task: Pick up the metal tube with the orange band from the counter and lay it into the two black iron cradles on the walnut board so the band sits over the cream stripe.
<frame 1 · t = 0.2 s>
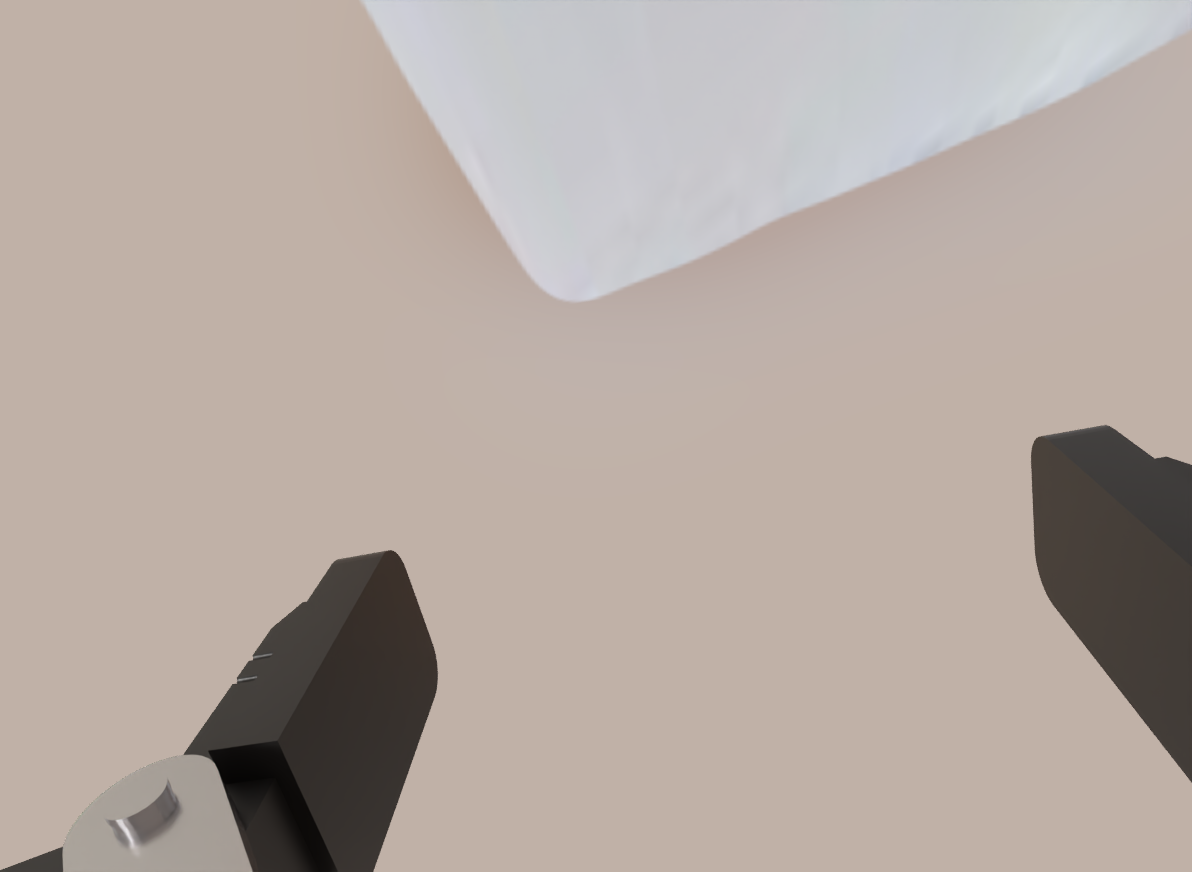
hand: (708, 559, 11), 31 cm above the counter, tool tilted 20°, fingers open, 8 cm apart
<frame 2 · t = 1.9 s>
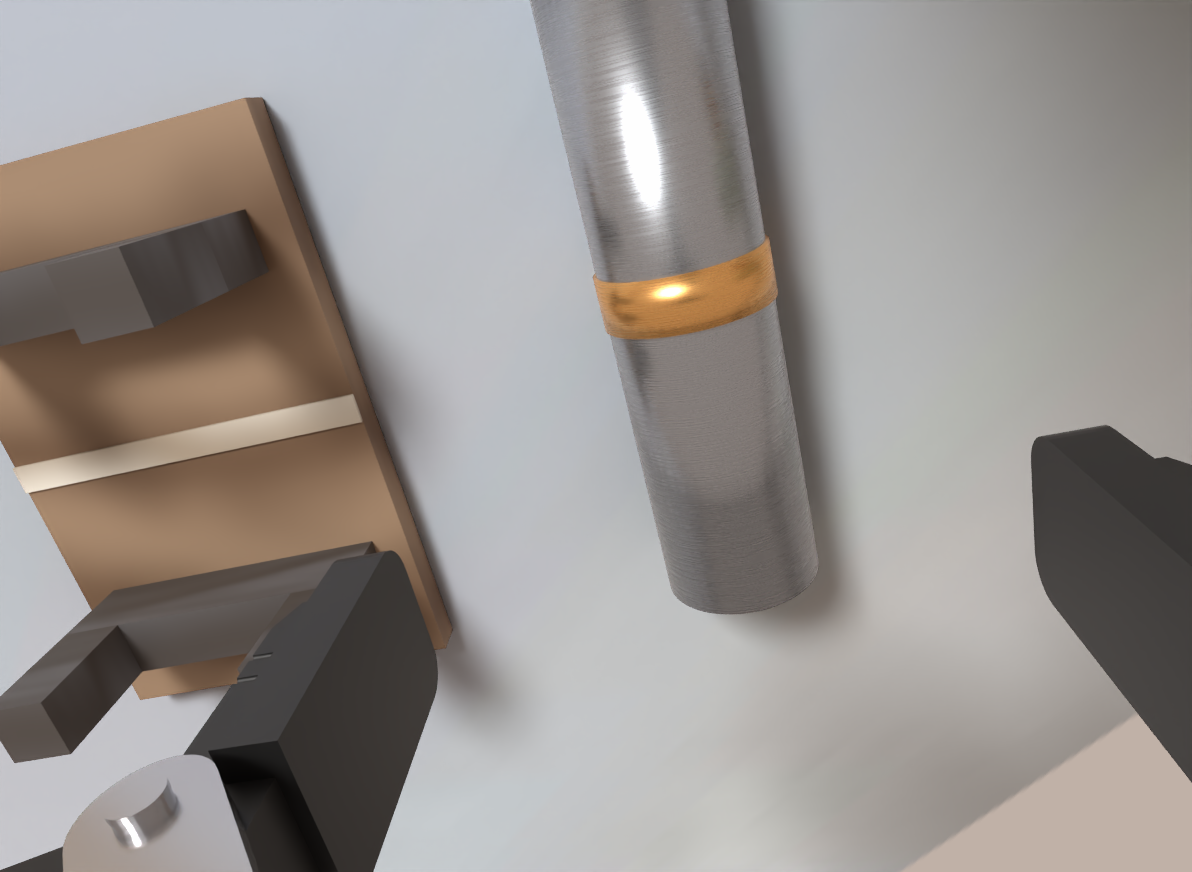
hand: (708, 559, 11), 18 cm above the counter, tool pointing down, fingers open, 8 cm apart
tube: (679, 267, 27), on the counter
cradle stand: (201, 431, 31), on the counter
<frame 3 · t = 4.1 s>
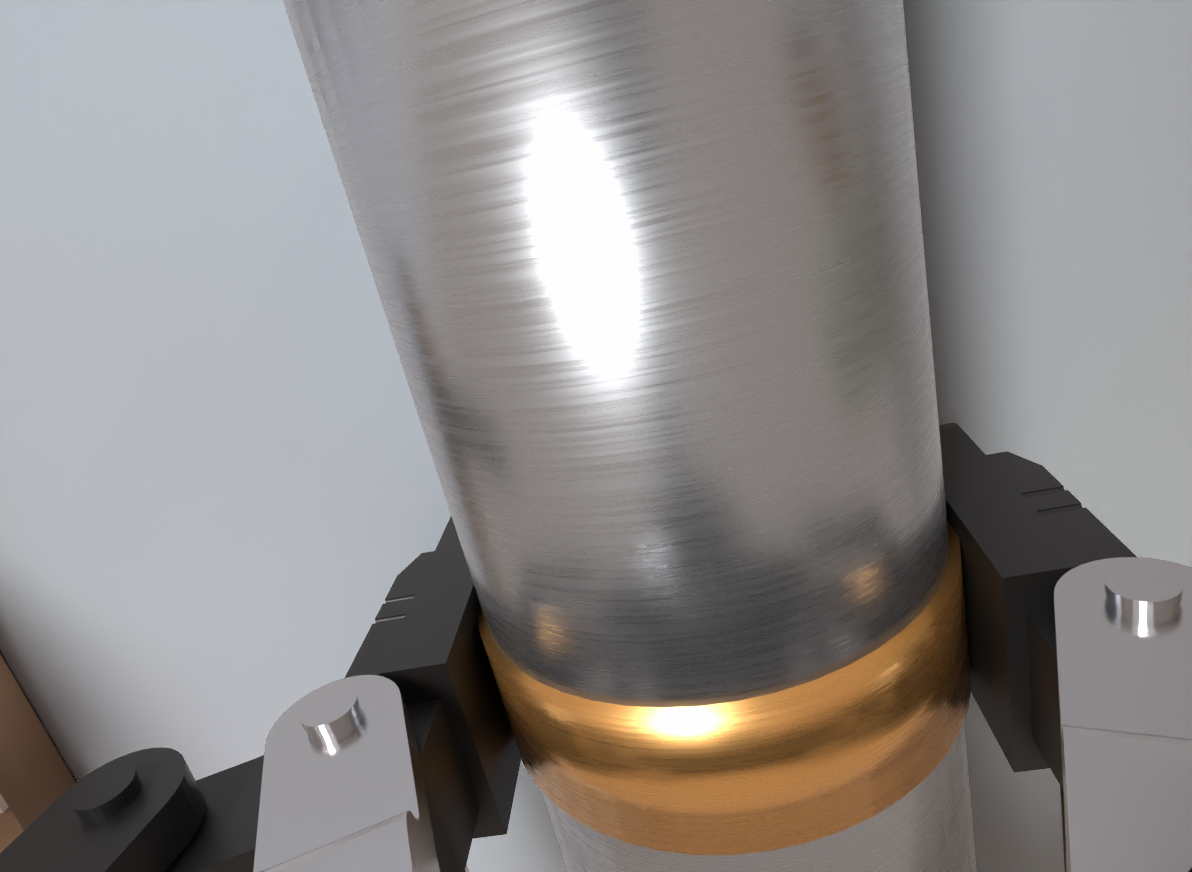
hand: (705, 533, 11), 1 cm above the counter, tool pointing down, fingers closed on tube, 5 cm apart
tube: (695, 511, 12), on the counter, touching gripper
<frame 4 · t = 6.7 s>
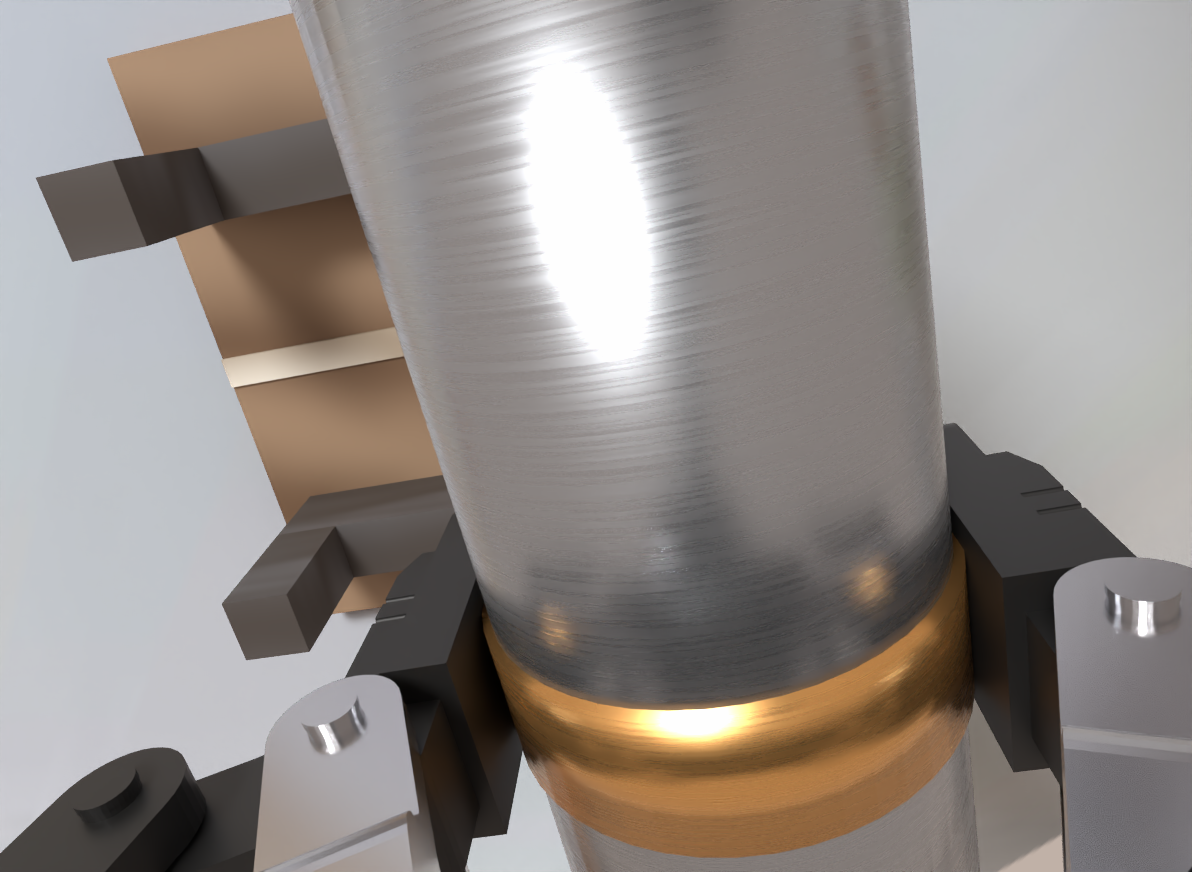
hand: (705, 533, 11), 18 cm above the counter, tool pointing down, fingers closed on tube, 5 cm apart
tube: (698, 513, 12), point 17 cm above the counter, touching gripper
cradle stand: (418, 329, 29), on the counter
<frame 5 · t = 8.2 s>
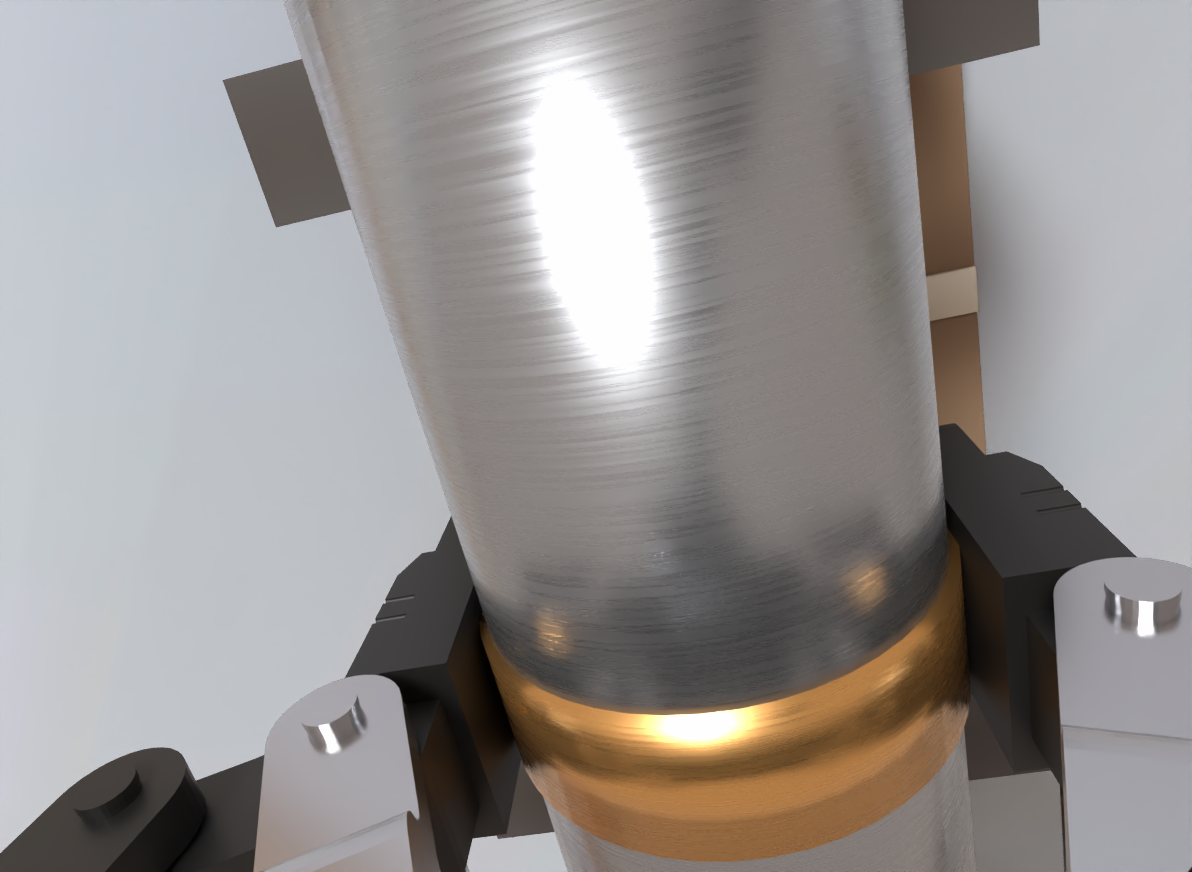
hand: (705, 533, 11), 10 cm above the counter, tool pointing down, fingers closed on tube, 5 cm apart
tube: (696, 516, 12), point 9 cm above the counter, touching gripper
cradle stand: (682, 333, 21), on the counter
when the fingers open (6 cm above the counter, at t = 9.4 s): tube drops 1 cm, resting on cradle stand.
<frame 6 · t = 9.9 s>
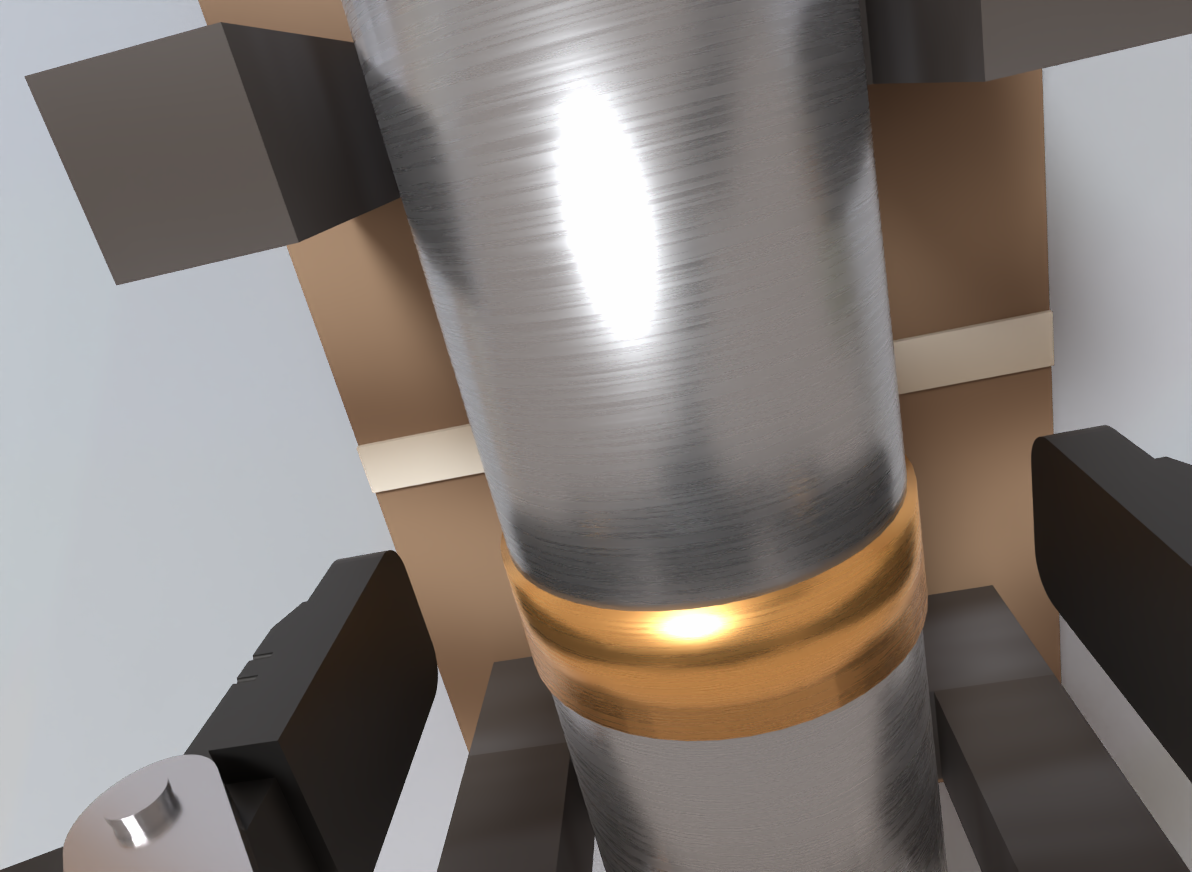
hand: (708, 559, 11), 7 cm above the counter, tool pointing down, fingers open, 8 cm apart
tube: (692, 470, 13), point 4 cm above the counter, touching cradle stand
cradle stand: (686, 385, 17), on the counter
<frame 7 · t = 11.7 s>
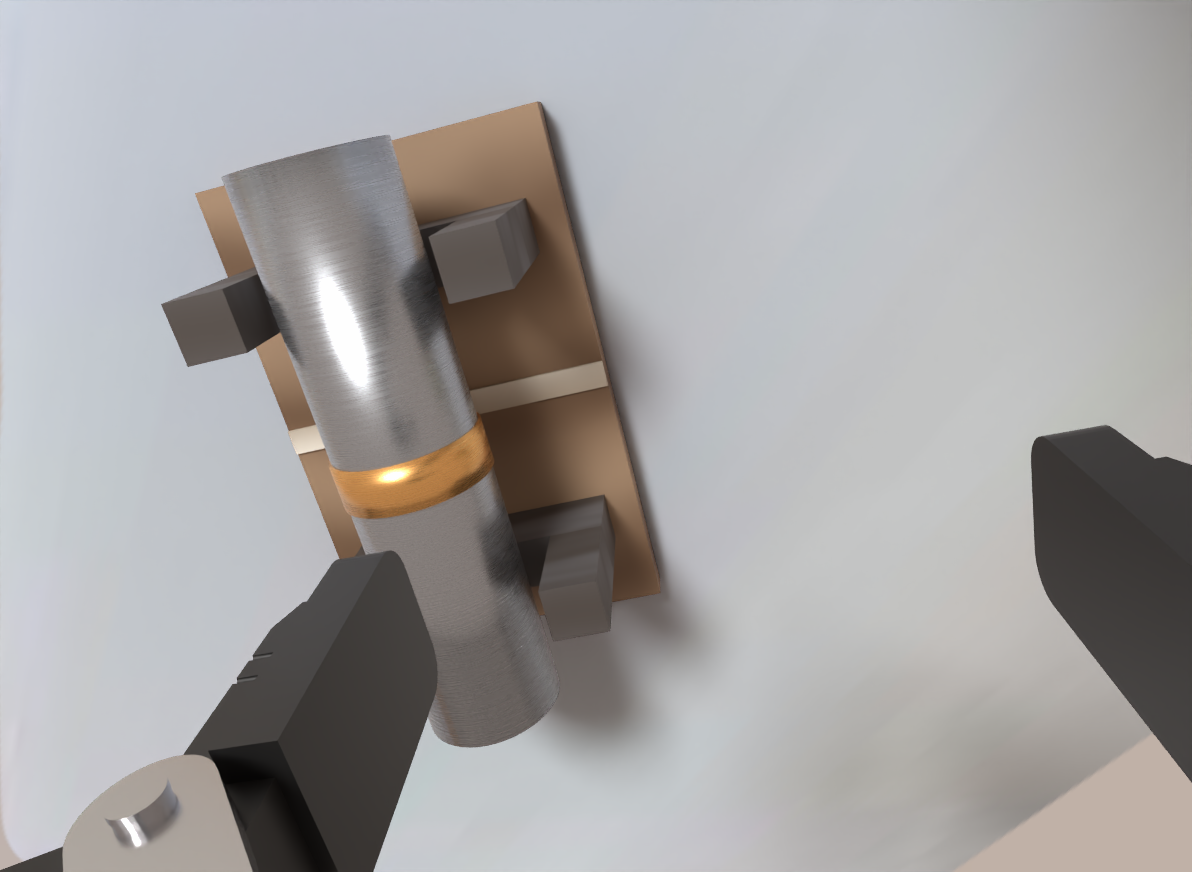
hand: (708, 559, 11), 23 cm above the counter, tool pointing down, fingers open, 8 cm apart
tube: (426, 434, 31), point 4 cm above the counter, touching cradle stand
cradle stand: (451, 398, 34), on the counter
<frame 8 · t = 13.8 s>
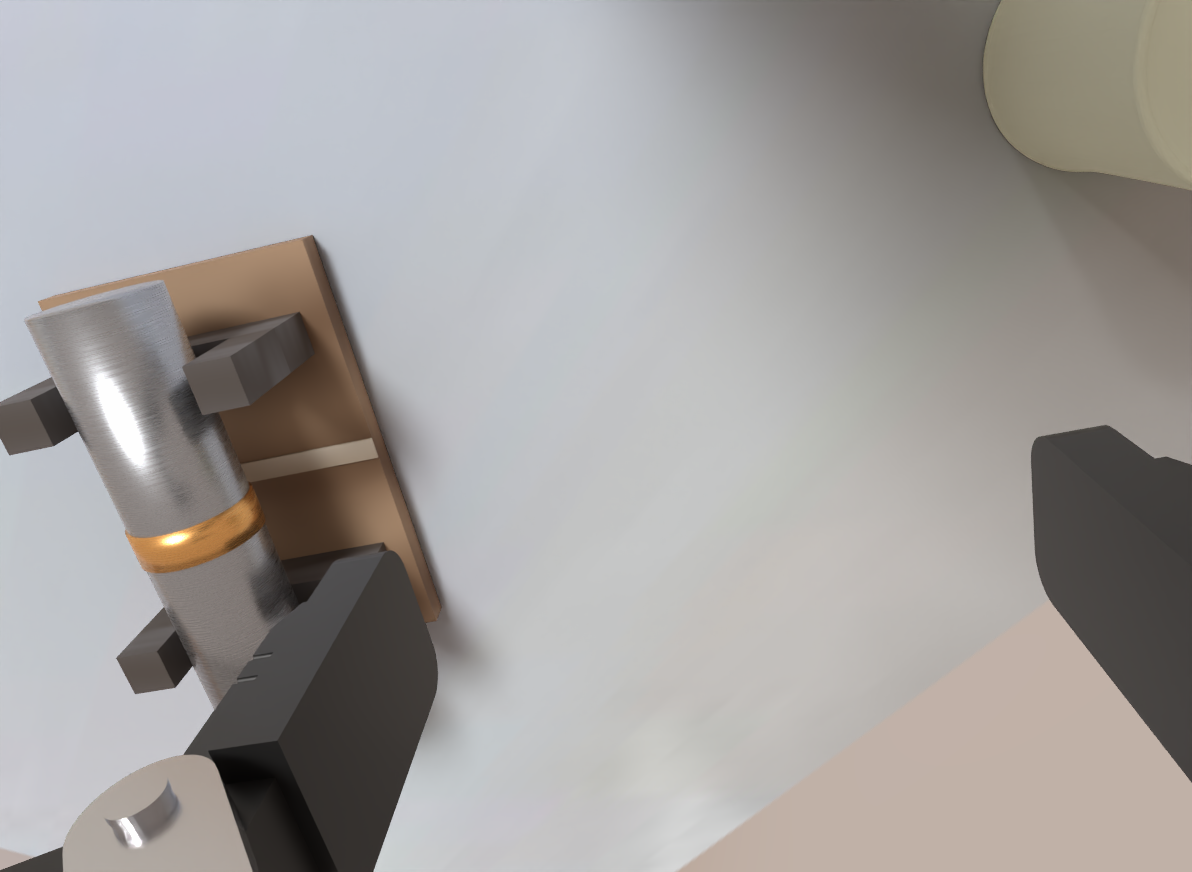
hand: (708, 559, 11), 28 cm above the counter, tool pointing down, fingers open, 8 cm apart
tube: (222, 498, 39), point 4 cm above the counter, touching cradle stand
can: (1100, 49, 33), on the counter
cradle stand: (260, 461, 42), on the counter
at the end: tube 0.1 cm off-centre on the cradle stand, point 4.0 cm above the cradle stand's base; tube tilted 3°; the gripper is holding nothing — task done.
